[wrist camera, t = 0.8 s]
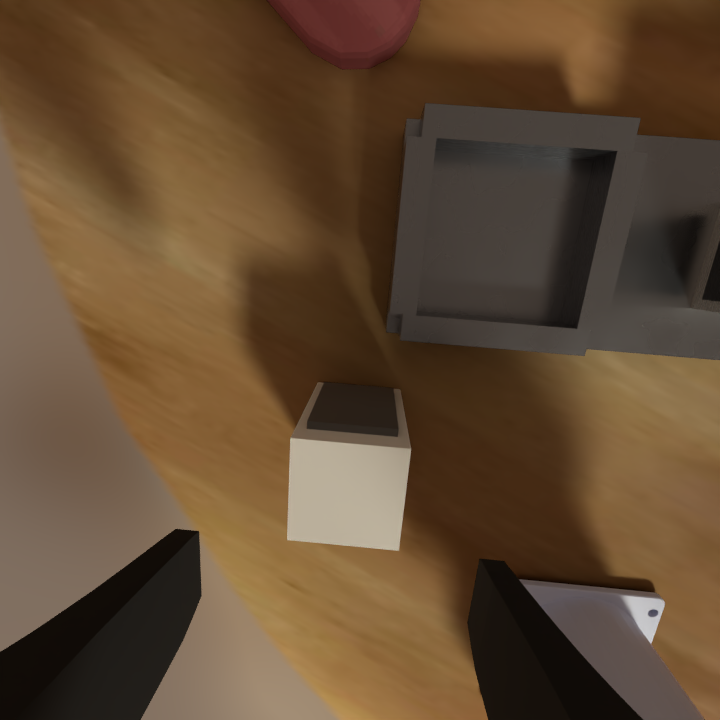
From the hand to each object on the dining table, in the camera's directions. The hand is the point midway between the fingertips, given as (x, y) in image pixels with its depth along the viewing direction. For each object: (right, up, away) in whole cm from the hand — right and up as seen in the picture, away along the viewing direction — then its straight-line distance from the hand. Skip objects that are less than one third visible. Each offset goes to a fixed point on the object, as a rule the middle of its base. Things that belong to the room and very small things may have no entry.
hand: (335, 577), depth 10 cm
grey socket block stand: (+12, +10, +7) cm, 17 cm away
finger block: (0, +2, +9) cm, 10 cm away
